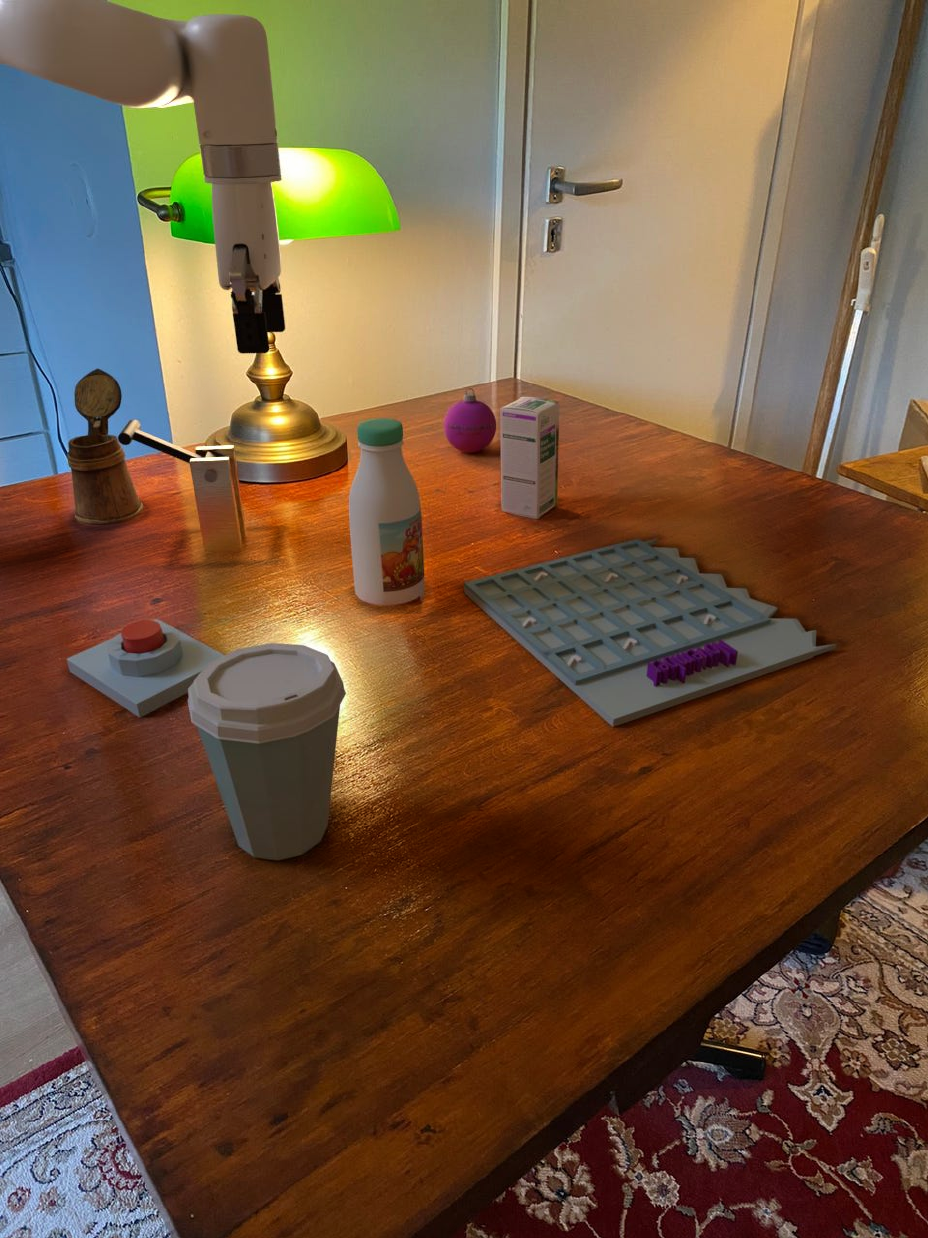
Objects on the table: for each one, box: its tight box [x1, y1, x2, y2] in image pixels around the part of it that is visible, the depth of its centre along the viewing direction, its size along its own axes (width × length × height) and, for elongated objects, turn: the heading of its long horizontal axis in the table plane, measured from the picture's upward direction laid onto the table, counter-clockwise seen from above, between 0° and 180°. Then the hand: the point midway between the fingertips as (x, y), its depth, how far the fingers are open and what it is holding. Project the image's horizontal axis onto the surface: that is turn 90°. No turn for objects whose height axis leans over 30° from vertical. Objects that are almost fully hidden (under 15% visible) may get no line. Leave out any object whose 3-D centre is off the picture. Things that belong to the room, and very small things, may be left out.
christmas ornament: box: [443, 387, 497, 454], centre depth 141 cm, size 8×8×10 cm
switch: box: [117, 419, 220, 465], centre depth 105 cm, size 12×5×2 cm, turn 95°
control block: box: [66, 618, 225, 718], centre depth 87 cm, size 12×10×4 cm
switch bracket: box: [188, 445, 247, 554], centre depth 109 cm, size 12×10×13 cm
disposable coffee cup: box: [187, 642, 347, 861], centre depth 65 cm, size 11×11×15 cm
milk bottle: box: [348, 417, 425, 606], centre depth 96 cm, size 8×8×20 cm
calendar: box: [463, 538, 838, 728], centre depth 96 cm, size 27×29×2 cm
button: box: [120, 619, 164, 654], centre depth 86 cm, size 4×4×2 cm
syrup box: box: [499, 395, 560, 520], centre depth 119 cm, size 6×6×14 cm
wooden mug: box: [66, 368, 144, 526], centre depth 119 cm, size 9×14×18 cm, turn 6°
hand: (262, 341), depth 98 cm, fingers open, 9 cm apart
